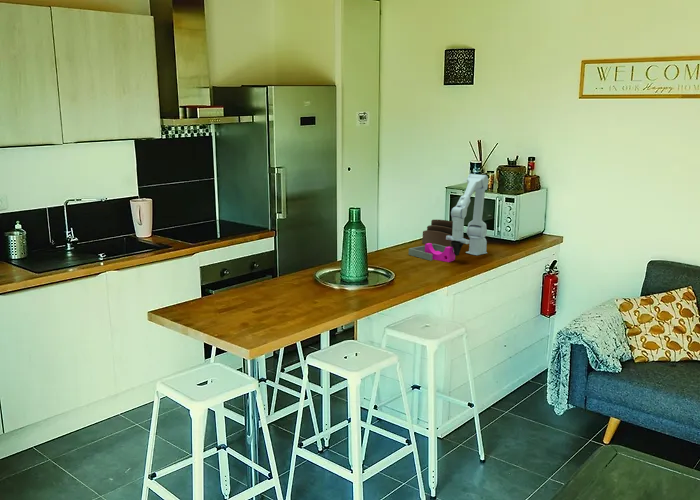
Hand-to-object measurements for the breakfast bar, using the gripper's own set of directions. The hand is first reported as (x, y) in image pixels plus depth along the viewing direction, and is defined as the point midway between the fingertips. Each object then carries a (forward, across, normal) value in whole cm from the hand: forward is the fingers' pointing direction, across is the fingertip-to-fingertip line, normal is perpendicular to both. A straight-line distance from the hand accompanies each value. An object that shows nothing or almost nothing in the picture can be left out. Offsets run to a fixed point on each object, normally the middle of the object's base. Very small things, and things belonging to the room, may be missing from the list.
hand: (456, 255), depth 358 cm
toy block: (+4, -9, -3) cm, 10 cm away
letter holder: (+4, -33, +23) cm, 40 cm away
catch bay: (+3, -17, 0) cm, 18 cm away
